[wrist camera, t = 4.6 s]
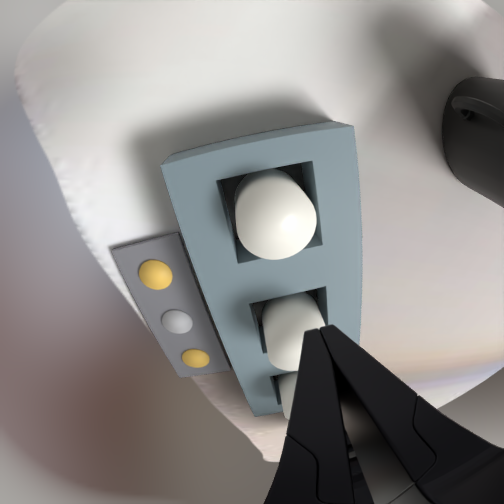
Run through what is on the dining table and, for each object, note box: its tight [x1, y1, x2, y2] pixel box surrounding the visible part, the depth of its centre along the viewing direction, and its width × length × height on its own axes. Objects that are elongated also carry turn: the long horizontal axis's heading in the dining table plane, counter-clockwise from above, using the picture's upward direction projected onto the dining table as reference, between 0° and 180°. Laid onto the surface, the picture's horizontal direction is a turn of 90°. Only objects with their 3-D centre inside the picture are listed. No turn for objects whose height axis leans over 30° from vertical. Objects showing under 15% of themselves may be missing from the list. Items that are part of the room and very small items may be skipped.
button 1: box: [234, 168, 317, 260], centre depth 16 cm, size 4×4×4 cm
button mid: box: [262, 292, 325, 371], centre depth 19 cm, size 4×4×4 cm
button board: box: [160, 121, 362, 417], centre depth 21 cm, size 24×10×3 cm, turn 12°
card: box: [112, 232, 231, 378], centre depth 22 cm, size 14×5×1 cm, turn 12°
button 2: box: [278, 371, 298, 420], centre depth 23 cm, size 4×4×4 cm
